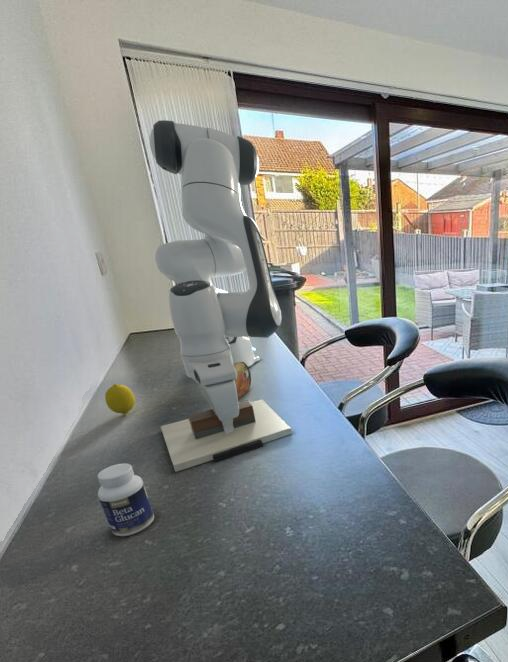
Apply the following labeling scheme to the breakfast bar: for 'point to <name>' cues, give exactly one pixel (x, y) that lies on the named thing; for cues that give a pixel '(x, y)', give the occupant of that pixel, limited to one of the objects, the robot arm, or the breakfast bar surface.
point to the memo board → (221, 437)
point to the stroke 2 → (238, 450)
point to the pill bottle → (124, 500)
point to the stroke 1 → (221, 455)
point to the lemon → (119, 399)
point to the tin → (242, 378)
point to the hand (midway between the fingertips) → (223, 423)
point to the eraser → (211, 424)
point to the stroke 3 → (254, 445)
